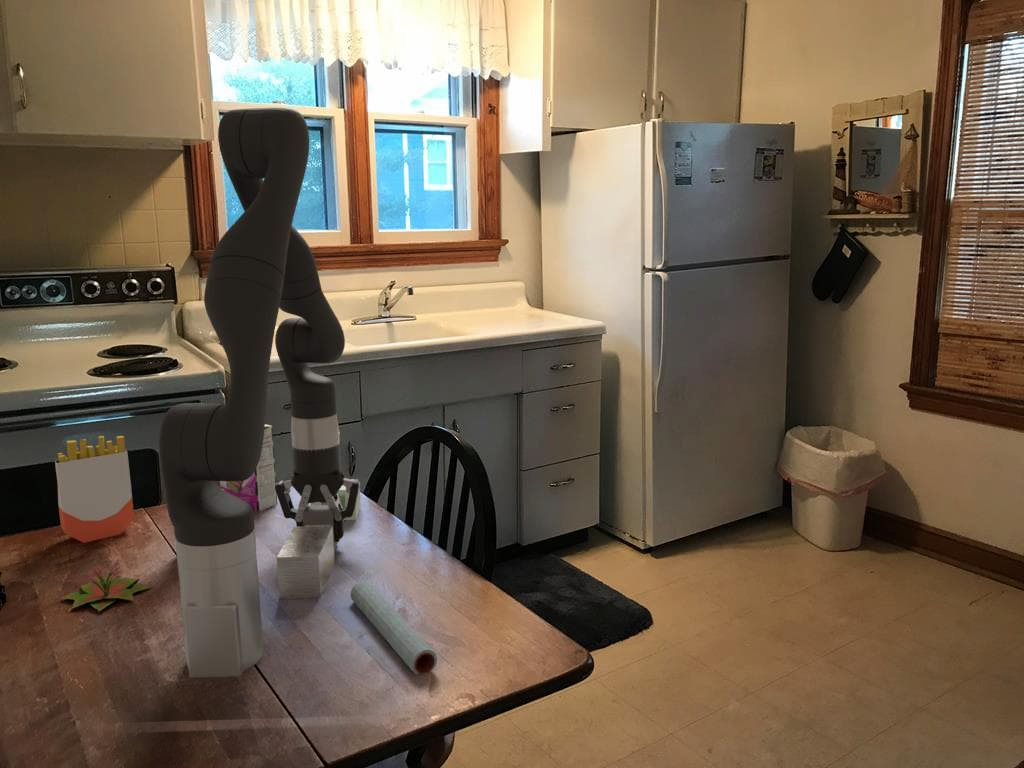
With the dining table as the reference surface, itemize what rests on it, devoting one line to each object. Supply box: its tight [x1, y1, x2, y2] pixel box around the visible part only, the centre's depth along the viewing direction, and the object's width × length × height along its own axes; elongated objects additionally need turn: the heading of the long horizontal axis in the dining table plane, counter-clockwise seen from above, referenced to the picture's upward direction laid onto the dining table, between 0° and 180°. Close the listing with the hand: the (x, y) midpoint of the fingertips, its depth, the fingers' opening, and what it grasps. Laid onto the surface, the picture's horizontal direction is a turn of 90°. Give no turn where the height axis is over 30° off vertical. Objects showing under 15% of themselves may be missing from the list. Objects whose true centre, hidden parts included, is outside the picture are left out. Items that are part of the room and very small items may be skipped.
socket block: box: [309, 478, 362, 521], centre depth 152 cm, size 8×6×6 cm
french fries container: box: [54, 435, 135, 544], centre depth 143 cm, size 5×11×18 cm, turn 128°
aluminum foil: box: [350, 580, 438, 676], centre depth 110 cm, size 23×7×3 cm, turn 30°
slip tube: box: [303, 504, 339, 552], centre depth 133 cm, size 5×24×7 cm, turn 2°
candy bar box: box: [218, 423, 278, 512], centre depth 158 cm, size 11×5×16 cm, turn 58°
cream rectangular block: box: [276, 526, 335, 600], centre depth 126 cm, size 6×12×6 cm, turn 2°
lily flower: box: [60, 562, 153, 612], centre depth 123 cm, size 12×12×5 cm
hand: (321, 540), depth 138 cm, fingers closed on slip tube, 4 cm apart
